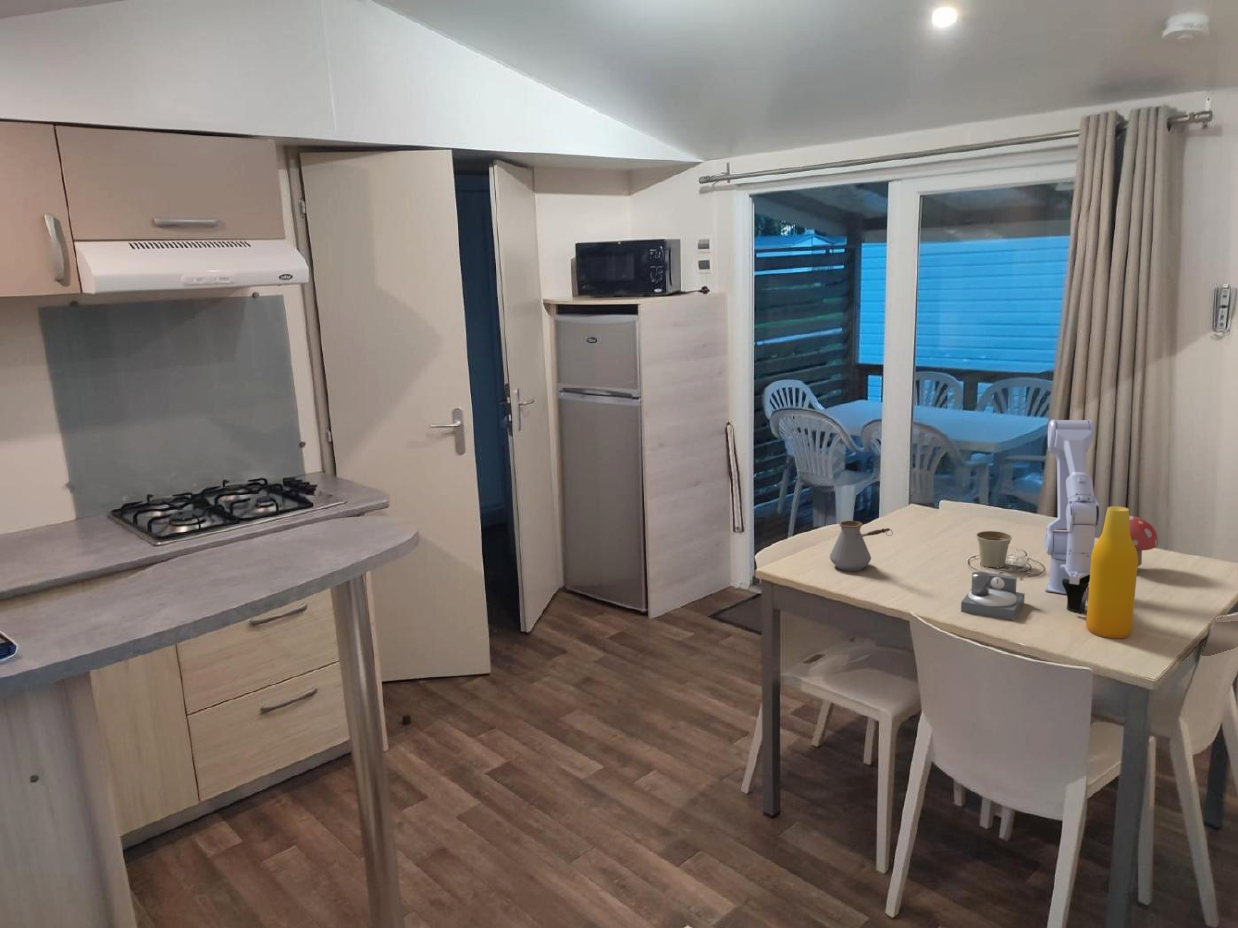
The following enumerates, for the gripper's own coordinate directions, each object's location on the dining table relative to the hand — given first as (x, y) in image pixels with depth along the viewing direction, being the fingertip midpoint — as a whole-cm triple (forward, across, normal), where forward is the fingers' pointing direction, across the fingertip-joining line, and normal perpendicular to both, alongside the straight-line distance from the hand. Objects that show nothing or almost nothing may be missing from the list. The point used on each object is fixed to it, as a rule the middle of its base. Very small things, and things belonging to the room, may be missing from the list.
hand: (1076, 603), depth 213 cm
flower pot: (+2, -26, -24) cm, 35 cm away
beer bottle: (+2, +11, +8) cm, 13 cm away
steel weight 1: (-2, +8, -20) cm, 22 cm away
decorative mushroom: (+2, -38, +8) cm, 38 cm away
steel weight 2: (+2, 0, 0) cm, 2 cm away
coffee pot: (+2, -4, -54) cm, 55 cm away
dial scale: (+2, +8, -18) cm, 19 cm away
